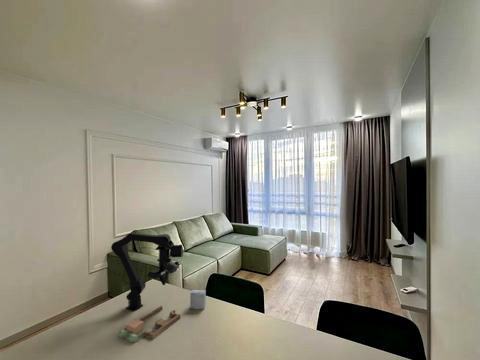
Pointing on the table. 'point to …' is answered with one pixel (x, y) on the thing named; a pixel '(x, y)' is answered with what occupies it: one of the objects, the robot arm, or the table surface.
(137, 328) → the block
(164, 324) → the trap lane
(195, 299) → the medicine box
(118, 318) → the table surface
